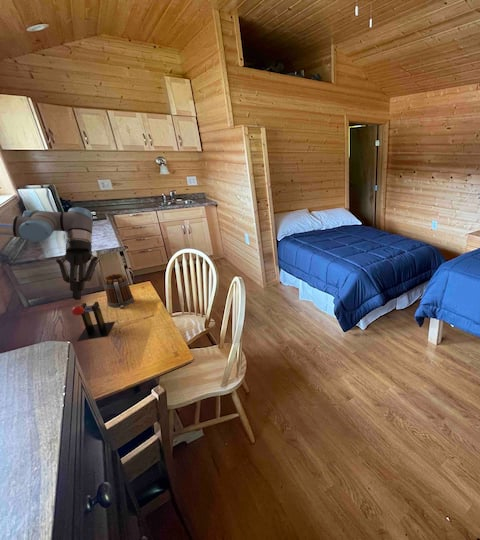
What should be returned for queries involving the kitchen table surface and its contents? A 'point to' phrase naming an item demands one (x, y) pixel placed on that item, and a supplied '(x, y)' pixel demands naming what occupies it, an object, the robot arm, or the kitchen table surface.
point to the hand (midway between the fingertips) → (76, 298)
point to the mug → (118, 291)
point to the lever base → (96, 329)
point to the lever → (81, 309)
